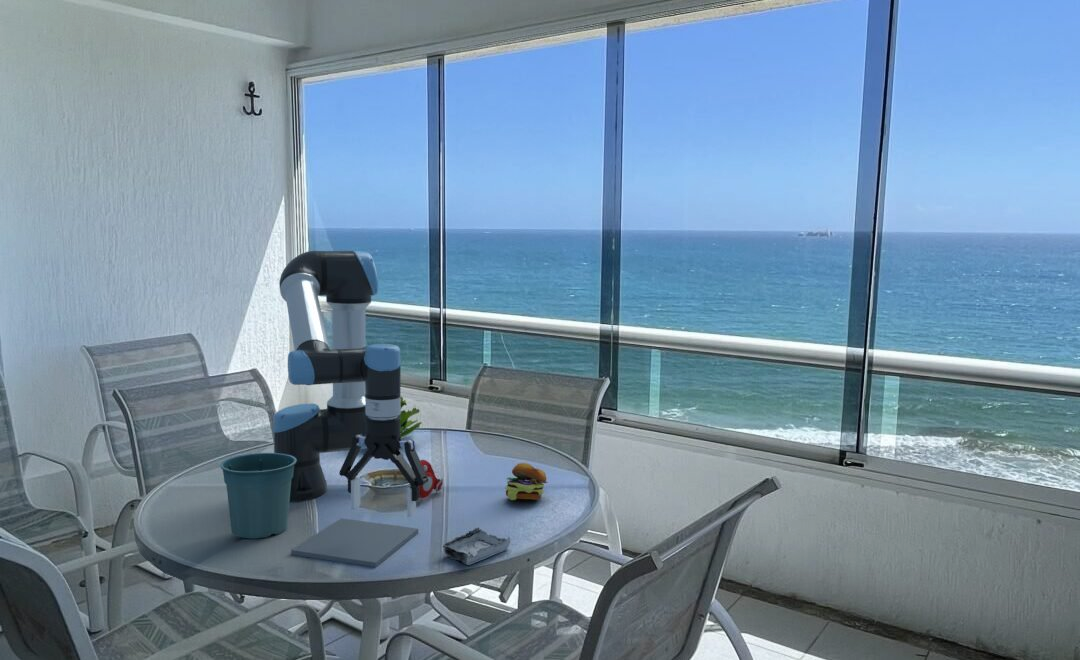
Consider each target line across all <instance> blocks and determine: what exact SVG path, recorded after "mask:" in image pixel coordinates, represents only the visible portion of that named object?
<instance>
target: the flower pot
mask: <svg viewBox="0 0 1080 660" xmlns="http://www.w3.org/2000/svg"><path fill="white" fill-rule="evenodd" d="M296 461H297V459H296V458H295V457H294V456H291V455H287V454H280V453H274V452H256V453H254V452H253V453H247V454H246V453H245V454H241V455H236V456H232V457H229V458H227V459H224V460H223V461H221V462H220V464H219V466H220V468H221V470H222V473H223V481H224V484H225V485H226V492H227V493H226V494H227V503H228V510H229V519H230V527H231V529H230V530H231V533H232V535H236V536H237V537H238V538H242V539H243V538H244V539H254V540H255V539H262V538H269V537H270V536H271V535H273V534H274V535H280V534H281V533H283V532H285V531H286V529H287V528H288V523H289V512H290V511H289V510H290V503H291V501H290V490H291V479H292V478H293V472H294V465H295V464H296Z"/></svg>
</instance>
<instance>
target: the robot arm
mask: <svg viewBox="0 0 1080 660" xmlns="http://www.w3.org/2000/svg"><path fill="white" fill-rule="evenodd" d="M376 267H377V266H376V264H375V261H374V258H373V256H372V254H370V253H369V252H367V251H359V250H358V251H357V250H310V251H305V252H302V253H300V254H299V255H297V256H295V257H293V258H292V260H290V261H289V262H288V264H286V266H285V267H284V269H283V270H282V272H281V274H280V279H279V282H278V283H279V292H280V296H281V298H282V299H283V301H285V302H286V307H287V313H288V314H287V315H288V319H289V325H290V326H289V327H290V330H291V337H292V341H293V342H292V343H293V348H294V350H292V351H290V352H289V353H288V354H287V355H288V356H287V375H288V376H287V377H288V380H289V383H290V384H291V385H293V386H294V385H295V386H297V385H299V386H302V385H303V386H314V385H329V384H332V396H331V397H330V398H329V399H328V400H327V402H326V408H322V409H321V408H320V407H319V405H318V404H316V403H302V404H301V403H300V404H295V405H289V406H287V407H284V408H282V409H280V410H278V411H277V412H276V413H275V414H274V415H273V424H272V425H273V427H272V432H273V453H280V454H287V455H291V456H294V457H295V458H296V459H297V461H296V464H295V465H294V472H293V478H292V479H291V490H290V502H303V501H308V500H314V499H316V498H319V497H321V496H323V495H326V493H327V491H328V483H327V480H326V478H325V474H324V471H323V468H322V465H321V462H320V461H321V460H320V459H321V458H320V455H321V453H322V454H323V453H334V452H344V451H345V452H346V451H348V453H347V455H346V457H345V459H344V461H343V464H342V465H341V468H340V470H339V475H340V476H341V477H345V478H346V479H347V492H348V494H350V510H356V509H358V508H359V507H361V477H360V476H359V474H360V472H361V471H362V470H363V469H364V467H365V466H366V465H367V464H368V463H369V462H370V461H371V459H372V458H374V459H377V460H378V459H381V460H386V461H388V460H390V461H391V462H392V463H393V464H395V466H396V467H397V469H398V470H399V471H400V473H401V474H402V476H403V477H404V479H405V480H406V481H407V482H408V484H409V486H407V487H406V488H407V489H406V490H407V491H406V492H407V494H406V495H407V496H406V497H407V498H406V499H407V500H406V503H407V505H406V507H407V508H406V509H407V517H409V518H411V517H413V516H414V515H415V514H416V513H417V501H419V500H420V499H421V498H420V485H423V484H425V483H426V482H428V477H427V475H426V473H425V471H424V468H423V466H422V464H421V462H420V460H421V459H420V457H419V455H418V453H417V451H416V445H415V440H414V439H412V438H411V439H409V440H402V438H400V433H401V418H400V417H399V416H398V415H400V414H401V411H402V408H401V398H400V397H401V384H402V383H401V381H402V379H401V375H402V374H401V372H402V370H401V369H402V368H401V366H402V365H401V364H402V359H401V358H402V357H401V349H400V347H399V345H395V344H392V343H374V344H370V345H366V309H367V307H368V306H370V304H371V303H372V296H374V297H375V296H376V295H377V294H378V292H379V289H378V288H379V280H378V278H379V277H378V273H377V268H376ZM319 296H320V297H321V296H323V297H326V299H325V300H326V301H325V302H326V303H327V304H328V306H330V308H331V309H332V310H331V311H332V312H331V314H332V315H331V316H332V349H331V348H330V344H329V340H328V335H327V332H326V331H327V330H326V326H325V322H324V316H323V312H322V309H321V305H320V301H319V300H320V299H319ZM400 448H402V451H403V452H404V453H405V456H406V459H407V460H406V459H405V457H404V454H403V453H402V451H401V450H400ZM363 449H367V450H366V451H365V452H364V454H363V455H362V456H361V458H360V459H359V461H358V462H356V464H355V465H354V463H355V461H356V458H357V457H358V455H359V452H360V451H361V450H363ZM407 461H408V462H409V463H408V462H407ZM353 465H354V466H353Z"/></svg>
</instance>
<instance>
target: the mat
mask: <svg viewBox="0 0 1080 660" xmlns="http://www.w3.org/2000/svg"><path fill="white" fill-rule="evenodd" d="M417 534H419V528H418V527H417V528H416V527H408V526H400V525H394V524H385V523H381V522H380V523H379V522H371V521H364V520H357V519H348V518H342V517H341V518H339V519H337V520H336V521H335V522H333V523H331V524H330V525H328V526H327V527H325V528H324V529H322V530H321V531H319V532H317V533H316V534H314V535H313V536H311V537H310V538H308V539H306V540H305V541H303V542H301V543H300V544H299V545H296V546H295V547H293V548H292V549H290V554H291V555H292V556H299V557H307V558H311V559H318V560H326V561H333V562H338V563H345V564H351V565H358V566H363V567H365V566H366V567H373V568H377V567H378V566H379V565H381V564H382V563H383V562H384V561H385V560H387V559H388V558H389V557H391V556H392V555H393V554H394V553H396V551H398V550H400V548H402V546H404V545H406V543H408V542H409V541H410V540H411V539H413V538H414V537H415V536H417ZM291 555H290V556H291Z"/></svg>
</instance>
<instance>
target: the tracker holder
mask: <svg viewBox="0 0 1080 660" xmlns="http://www.w3.org/2000/svg"><path fill="white" fill-rule="evenodd" d="M420 462H421V464H422V466H423V468H424V471H425V473H426V475H427V477H428V482H426V483H425V484H423V485H420V498H419V499H425V498H427V497H428V496H430V495H431V494H432V492H433V490H435V493H438V492H440V491H441V490H442V489H443V482H444V478H441V479H440V478H437V477H436V475H435V471H434V469H433V467H432V464H431V463H430V462H429V461H427V460H426V459H420Z"/></svg>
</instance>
